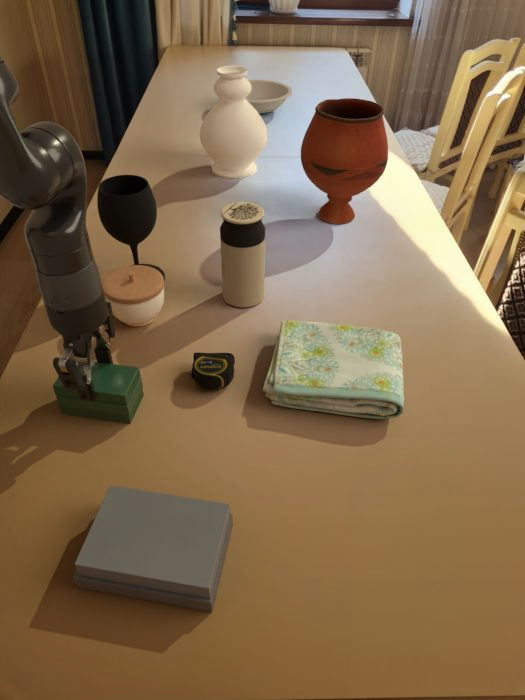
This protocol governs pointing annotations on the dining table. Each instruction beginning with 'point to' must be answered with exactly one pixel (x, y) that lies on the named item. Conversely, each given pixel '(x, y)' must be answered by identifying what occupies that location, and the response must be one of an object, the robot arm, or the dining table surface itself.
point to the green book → (107, 383)
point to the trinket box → (135, 294)
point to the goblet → (344, 153)
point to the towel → (337, 370)
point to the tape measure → (213, 370)
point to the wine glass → (128, 211)
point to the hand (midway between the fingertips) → (97, 382)
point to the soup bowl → (267, 95)
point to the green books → (102, 407)
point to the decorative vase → (233, 126)
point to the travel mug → (242, 254)
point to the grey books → (156, 548)
